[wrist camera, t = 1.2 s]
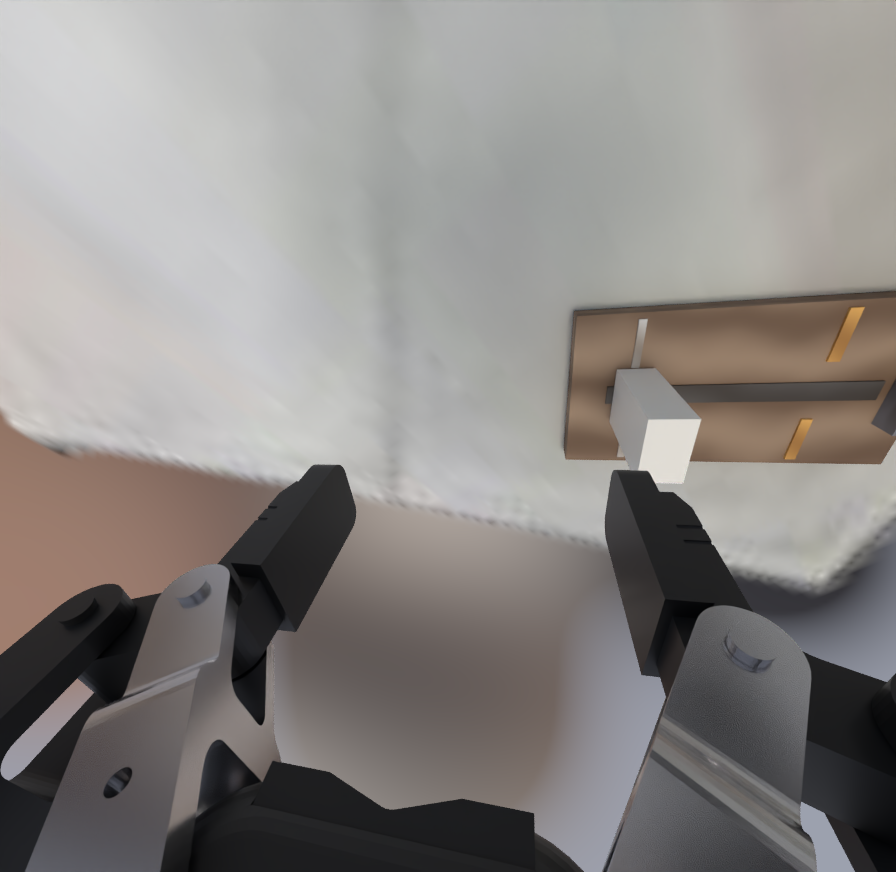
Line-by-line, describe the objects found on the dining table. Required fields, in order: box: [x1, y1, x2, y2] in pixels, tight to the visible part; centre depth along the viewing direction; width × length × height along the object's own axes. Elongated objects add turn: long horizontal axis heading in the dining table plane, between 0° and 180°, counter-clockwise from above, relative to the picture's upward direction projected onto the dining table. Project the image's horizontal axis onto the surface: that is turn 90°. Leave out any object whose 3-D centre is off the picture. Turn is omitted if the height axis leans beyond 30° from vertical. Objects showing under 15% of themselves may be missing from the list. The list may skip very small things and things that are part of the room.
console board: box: [564, 291, 896, 464], centre depth 30 cm, size 14×26×4 cm, turn 96°
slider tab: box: [609, 368, 701, 484], centre depth 28 cm, size 5×3×9 cm, turn 6°
